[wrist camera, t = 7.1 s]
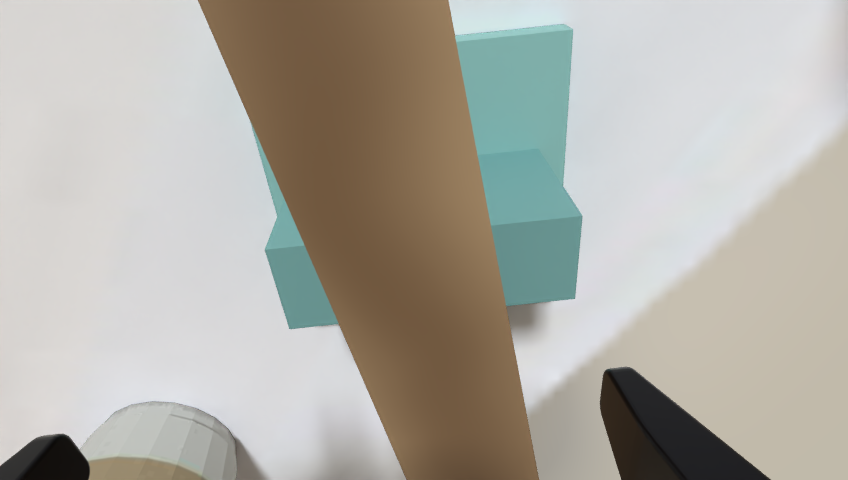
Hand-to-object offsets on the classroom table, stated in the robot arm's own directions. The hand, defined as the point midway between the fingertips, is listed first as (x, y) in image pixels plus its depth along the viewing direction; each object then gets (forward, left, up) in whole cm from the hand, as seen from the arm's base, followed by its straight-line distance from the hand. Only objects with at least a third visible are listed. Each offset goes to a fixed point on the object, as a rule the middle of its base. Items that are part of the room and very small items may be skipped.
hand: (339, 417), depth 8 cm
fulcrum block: (-2, +2, -12) cm, 13 cm away
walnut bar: (-2, +2, -6) cm, 7 cm away
